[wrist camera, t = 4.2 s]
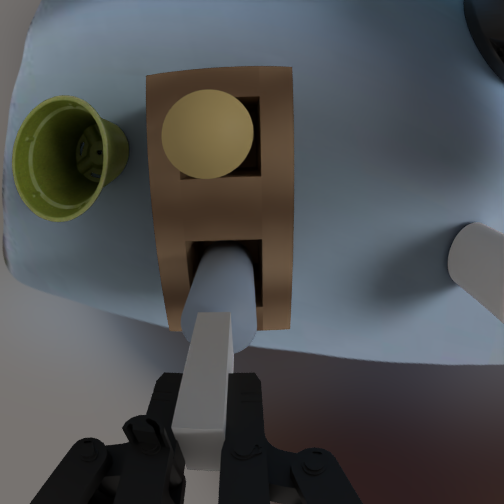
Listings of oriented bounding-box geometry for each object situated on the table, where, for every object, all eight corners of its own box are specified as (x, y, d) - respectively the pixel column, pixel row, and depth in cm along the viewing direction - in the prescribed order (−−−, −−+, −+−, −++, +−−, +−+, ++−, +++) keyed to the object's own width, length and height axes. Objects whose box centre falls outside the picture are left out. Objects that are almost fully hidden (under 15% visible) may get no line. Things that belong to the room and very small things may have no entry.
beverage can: (469, 289, 32) (524, 337, 21) (434, 270, 31) (495, 323, 19) (496, 236, 29) (559, 272, 18) (463, 209, 28) (536, 243, 17)
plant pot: (156, 110, 24) (120, 99, 16) (137, 207, 28) (98, 233, 19) (74, 102, 23) (22, 95, 15) (60, 191, 27) (8, 210, 18)
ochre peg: (192, 112, 18) (160, 94, 11) (249, 109, 18) (252, 87, 11) (194, 167, 20) (163, 181, 12) (250, 164, 20) (254, 177, 12)
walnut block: (176, 95, 24) (146, 75, 16) (276, 91, 24) (291, 66, 16) (188, 280, 30) (169, 331, 22) (277, 278, 30) (289, 329, 22)
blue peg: (199, 240, 21) (175, 292, 14) (252, 238, 22) (256, 291, 14) (203, 288, 23) (186, 355, 15) (253, 287, 23) (257, 354, 15)
